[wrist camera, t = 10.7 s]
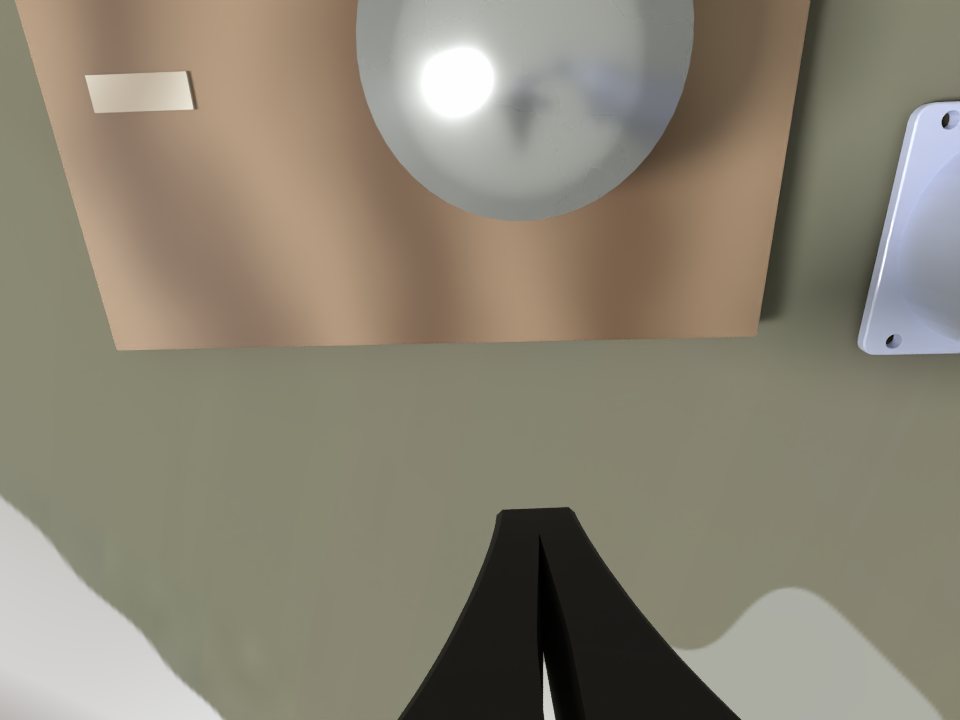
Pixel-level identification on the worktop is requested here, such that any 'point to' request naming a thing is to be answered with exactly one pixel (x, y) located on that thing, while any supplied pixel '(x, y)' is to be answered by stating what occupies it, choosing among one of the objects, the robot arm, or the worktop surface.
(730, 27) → the post board
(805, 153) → the worktop surface
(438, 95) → the grey lever with knob
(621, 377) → the worktop surface
